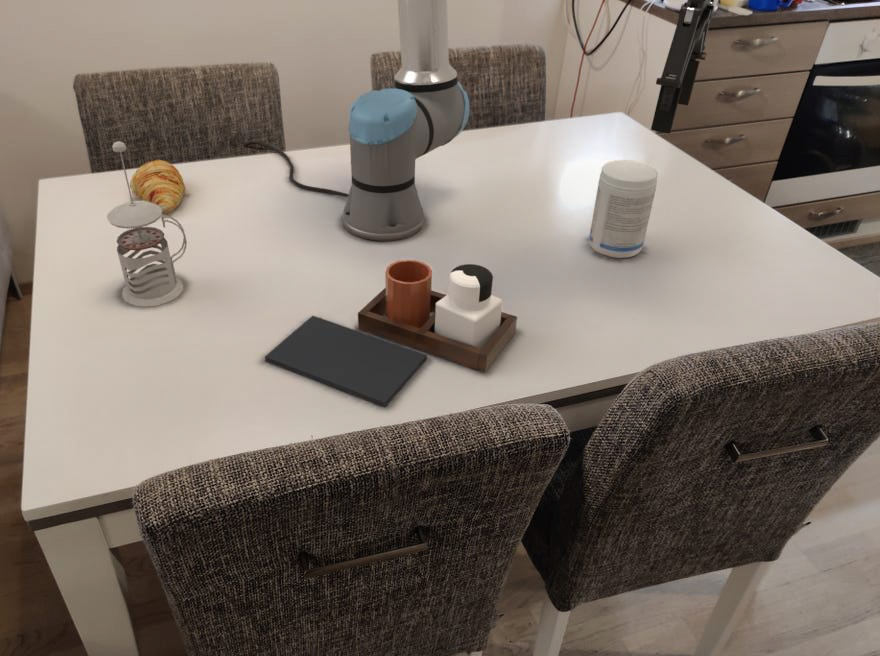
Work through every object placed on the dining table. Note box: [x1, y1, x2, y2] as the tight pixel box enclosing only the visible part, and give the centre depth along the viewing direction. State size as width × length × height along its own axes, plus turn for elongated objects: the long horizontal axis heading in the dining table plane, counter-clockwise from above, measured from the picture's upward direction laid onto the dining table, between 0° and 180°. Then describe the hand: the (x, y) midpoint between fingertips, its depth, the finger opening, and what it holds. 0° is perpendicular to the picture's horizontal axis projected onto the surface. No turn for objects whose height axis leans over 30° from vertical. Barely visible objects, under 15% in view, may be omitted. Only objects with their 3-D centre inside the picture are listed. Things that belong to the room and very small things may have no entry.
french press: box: [106, 140, 188, 308], centre depth 111 cm, size 10×12×25 cm
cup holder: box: [357, 286, 518, 373], centre depth 110 cm, size 21×11×3 cm, turn 61°
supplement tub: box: [588, 159, 659, 259], centre depth 127 cm, size 10×10×15 cm
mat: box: [264, 315, 428, 408], centre depth 104 cm, size 20×12×1 cm, turn 61°
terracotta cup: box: [385, 259, 433, 328], centre depth 110 cm, size 7×7×9 cm
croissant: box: [129, 158, 186, 213], centre depth 145 cm, size 21×10×8 cm, turn 26°
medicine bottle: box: [434, 263, 504, 349], centre depth 105 cm, size 7×7×12 cm
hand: (670, 116), depth 110 cm, fingers open, 13 cm apart
